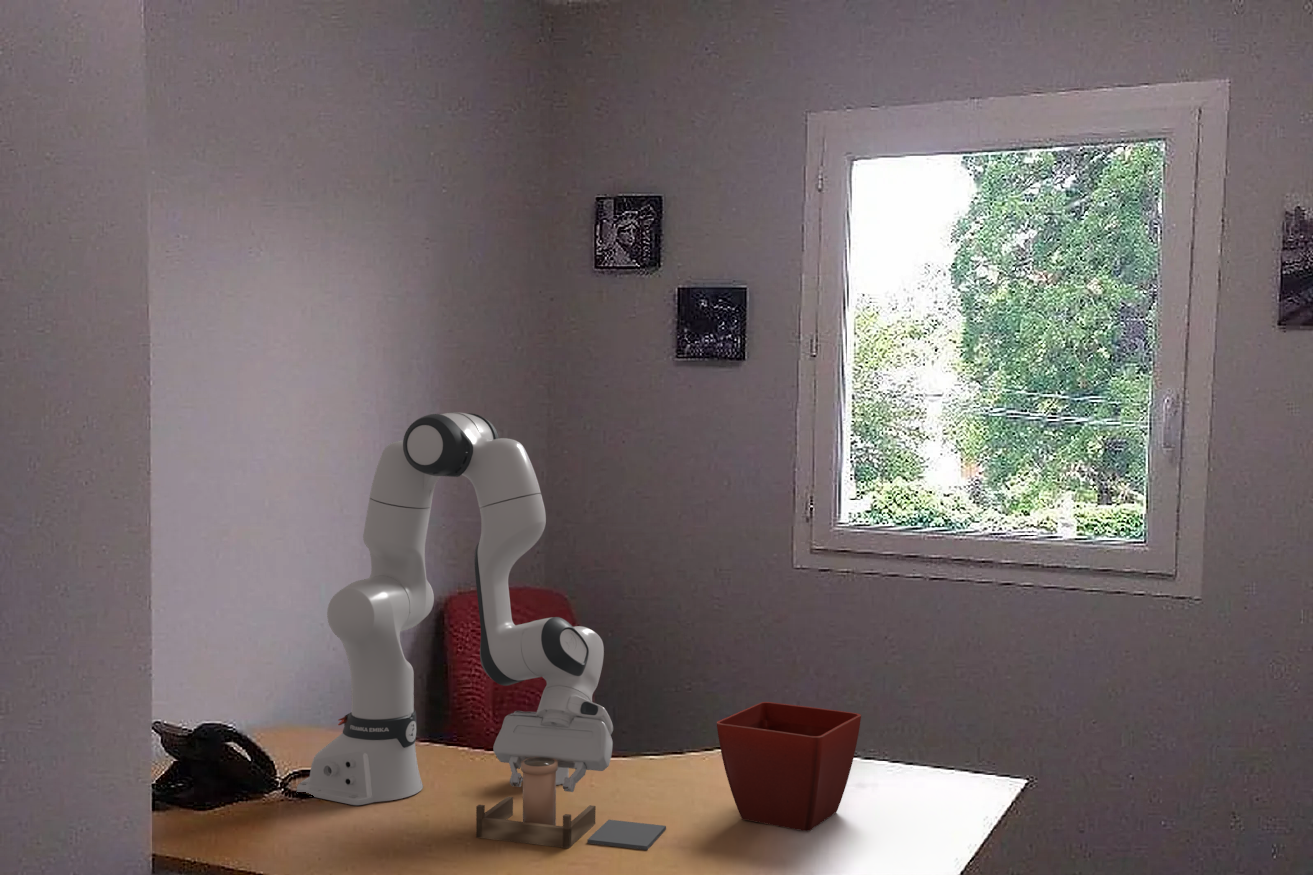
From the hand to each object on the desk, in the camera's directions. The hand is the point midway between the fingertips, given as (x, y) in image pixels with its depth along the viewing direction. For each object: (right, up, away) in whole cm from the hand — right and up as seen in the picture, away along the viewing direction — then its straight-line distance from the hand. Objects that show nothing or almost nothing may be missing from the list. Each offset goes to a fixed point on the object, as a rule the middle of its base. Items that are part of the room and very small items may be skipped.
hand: (540, 787), depth 197 cm
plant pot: (+42, -7, +7) cm, 43 cm away
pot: (0, -7, 0) cm, 7 cm away
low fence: (0, -7, 0) cm, 7 cm away
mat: (+14, -7, -4) cm, 16 cm away
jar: (-1, -7, +27) cm, 27 cm away
